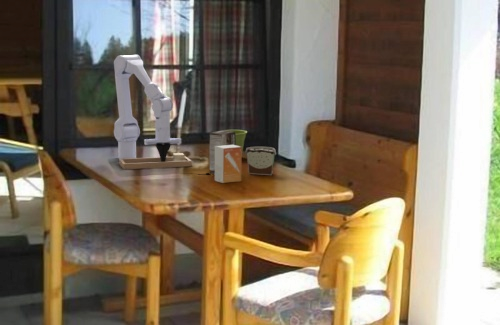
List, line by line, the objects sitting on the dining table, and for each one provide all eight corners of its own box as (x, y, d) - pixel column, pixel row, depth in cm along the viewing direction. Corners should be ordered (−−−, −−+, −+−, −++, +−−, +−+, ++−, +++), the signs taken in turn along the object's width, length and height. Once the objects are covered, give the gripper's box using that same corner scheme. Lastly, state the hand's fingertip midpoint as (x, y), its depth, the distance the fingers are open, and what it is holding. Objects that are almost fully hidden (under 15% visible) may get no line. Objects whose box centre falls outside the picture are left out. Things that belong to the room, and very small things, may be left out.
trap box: (119, 167, 359) (119, 158, 359) (185, 164, 367) (185, 156, 366) (123, 172, 348) (123, 163, 347) (191, 169, 355) (191, 160, 355)
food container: (280, 172, 350) (280, 147, 348) (275, 175, 344) (275, 149, 342) (250, 170, 354) (250, 145, 352) (245, 173, 348) (245, 147, 346)
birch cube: (172, 163, 361) (172, 153, 360) (182, 162, 362) (182, 152, 361) (174, 164, 357) (174, 154, 356) (184, 164, 358) (184, 154, 357)
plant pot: (214, 159, 380) (214, 132, 378) (226, 154, 391) (226, 129, 389) (240, 160, 376) (240, 134, 374) (251, 156, 386) (251, 130, 385)
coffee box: (223, 170, 354) (223, 129, 351) (236, 172, 350) (236, 131, 348) (208, 173, 347) (208, 132, 344) (222, 175, 343) (222, 133, 340)
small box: (223, 183, 328) (223, 148, 326) (214, 180, 333) (214, 146, 331) (241, 181, 332) (242, 146, 330) (232, 178, 338) (232, 144, 335)
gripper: (146, 130, 350) (146, 164, 352) (182, 128, 354) (183, 162, 356) (143, 127, 356) (143, 161, 359) (179, 126, 360) (179, 160, 363)
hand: (163, 162), depth 358 cm, fingers closed
